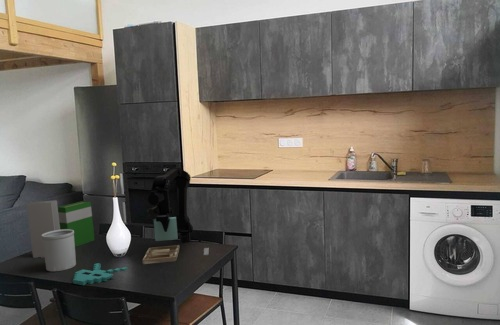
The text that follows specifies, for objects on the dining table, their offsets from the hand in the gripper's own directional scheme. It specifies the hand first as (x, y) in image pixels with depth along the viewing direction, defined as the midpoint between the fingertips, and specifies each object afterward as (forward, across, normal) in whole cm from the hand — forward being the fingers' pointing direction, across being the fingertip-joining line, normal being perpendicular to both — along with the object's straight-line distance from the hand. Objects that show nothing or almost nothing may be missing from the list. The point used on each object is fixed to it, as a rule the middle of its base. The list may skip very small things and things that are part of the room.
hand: (166, 230), depth 216 cm
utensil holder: (+13, +4, -53) cm, 54 cm away
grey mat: (+13, +1, +14) cm, 19 cm away
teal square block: (+4, 0, 0) cm, 4 cm away
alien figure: (+13, +22, -30) cm, 40 cm away
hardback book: (+13, -38, -58) cm, 71 cm away
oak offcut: (+12, +10, -2) cm, 15 cm away
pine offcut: (+9, +10, -2) cm, 13 cm away
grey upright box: (+13, -18, -68) cm, 72 cm away
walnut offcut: (+10, +10, -3) cm, 14 cm away
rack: (+13, +4, -3) cm, 14 cm away
